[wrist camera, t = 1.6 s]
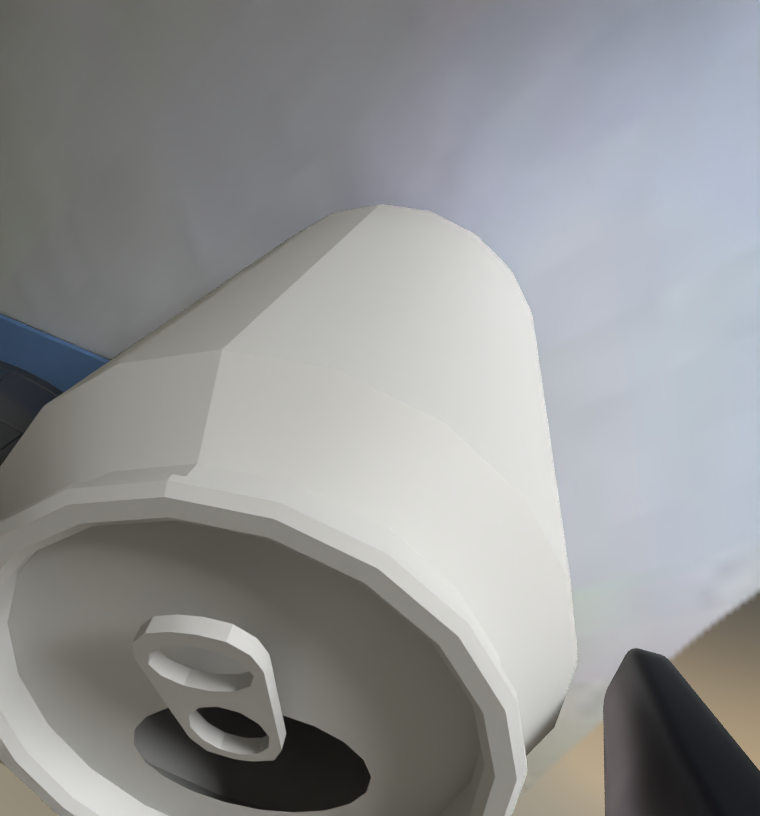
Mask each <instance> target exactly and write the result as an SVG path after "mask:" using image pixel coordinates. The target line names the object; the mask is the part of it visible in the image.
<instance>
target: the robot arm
mask: <svg viewBox="0 0 760 816" xmlns="http://www.w3.org/2000/svg"><path fill="white" fill-rule="evenodd" d="M603 720H604V775H605V776H604V780H605V816H760V771H759V770H758V769H757V767H756V766H755V765H754V763H753V762H752V761H751V760H750V759H749V757H748V756H747V755H746V754H745V752H744V751H743V750H742V749H741V747H740V746H739V745H738V744H737V743H736V742H735V740H734V739H733V738H732V736H731V735H730V734H729V733H728V732H727V730H726V729H725V728H724V727H723V725H722V724H721V723H720V722H719V720H718V719H717V718H716V717H715V716H714V714H713V713H712V712H711V711H710V709H709V708H708V707H707V706H706V705H705V704H704V702H703V701H702V700H701V698H700V697H699V696H698V695H697V694H696V692H695V691H694V690H693V689H692V688H691V686H690V685H689V684H688V682H687V681H686V680H685V679H684V678H683V677H682V675H681V674H680V673H679V671H678V670H677V669H676V668H675V667H674V665H673V664H672V663H671V662H670V661H669V660H668V659H667V658H666V657H665V656H662V655H660V654H656V653H653V652H649V651H645V650H642V649H638V648H635V649H631V650H630V651H628V653H627V654H626V655H625V657H624V659H623V661H622V663H621V665H620V666H619V668H618V670H617V672H616V674H615V676H614V677H613V679H612V681H611V683H610V685H609V687H608V689H607V691H606V694H605V698H604V706H603Z"/></svg>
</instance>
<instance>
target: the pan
mask: <svg viewBox="0 0 760 816" xmlns="http://www.w3.org/2000/svg"><path fill="white" fill-rule="evenodd" d="M62 393H64V392H62V391H61V390H59V389H58V388H56V387H55V386H53V385H52V384H50V383H49V382H47V381H45V380H43V379H41V378H39V377H37V376H35V375H34V374H32V373H30V372H28V371H26V370H23V369H21V368H18V367H16V366H14V365H11V364H9V363H6V362H4V361H0V466H1V465H2V463H3V462H4V461H5V459H6V458H7V456H8V455H9V454H10V452H11V451H12V449H13V448H14V447H15V445H16V444H17V442H18V441H19V440H20V438H21V437H22V436H23V434H24V433H25V431H26V430H27V429H28V427H29V426H30V424H31V423H32V422H33V420H34V419H35V417H36V416H37V415H38V413H39V412H40V410H41V409H42V408H43V406H45V405H46V404H47V403H49V402H50V401H52V400H53V399H55V398H56V397H58V396H59V395H61V394H62Z"/></svg>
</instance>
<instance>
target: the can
mask: <svg viewBox="0 0 760 816" xmlns="http://www.w3.org/2000/svg"><path fill="white" fill-rule="evenodd" d="M577 663H578V654H577V643H576V633H575V622H574V611H573V601H572V590H571V580H570V573H569V566H568V560H567V553H566V546H565V539H564V532H563V525H562V518H561V511H560V504H559V497H558V490H557V483H556V476H555V469H554V462H553V455H552V448H551V441H550V434H549V428H548V421H547V414H546V407H545V400H544V393H543V386H542V379H541V372H540V365H539V358H538V351H537V344H536V337H535V330H534V323H533V316H532V313H531V311H530V308H529V306H528V304H527V302H526V300H525V298H524V296H523V294H522V292H521V289H520V287H519V285H518V283H517V281H516V279H515V277H514V275H513V273H512V271H511V269H510V268H509V267H508V266H507V265H506V264H505V263H504V262H503V261H502V260H501V259H500V258H499V257H498V256H497V255H496V254H495V253H494V252H493V251H492V250H491V249H490V248H489V247H488V246H487V245H486V244H485V243H484V242H483V241H482V240H481V239H480V238H479V237H478V236H477V235H476V234H474V233H472V232H470V231H468V230H466V229H464V228H462V227H460V226H458V225H456V224H455V223H453V222H451V221H449V220H447V219H445V218H443V217H441V216H439V215H437V214H435V213H433V212H431V211H425V210H418V209H411V208H404V207H397V206H391V205H384V204H378V205H372V206H367V207H362V208H356V209H351V210H346V211H340V212H335V213H331V214H330V215H328V216H326V217H325V218H323V219H321V220H319V221H318V222H316V223H314V224H312V225H311V226H309V227H307V228H306V229H304V230H302V231H300V232H299V233H297V234H295V235H294V236H292V237H290V238H289V239H287V240H286V241H284V242H283V243H282V244H280V245H279V246H277V247H276V248H274V249H273V250H271V251H270V252H268V253H267V254H265V255H264V256H263V257H261V258H260V259H258V260H257V261H255V262H254V263H252V264H251V265H249V266H248V267H246V268H245V269H244V270H242V271H241V272H239V273H238V274H236V275H235V276H233V277H232V278H230V279H229V280H227V281H226V282H225V283H223V284H222V285H220V286H219V287H217V288H216V289H214V290H213V291H211V292H210V293H208V294H207V295H205V296H204V297H203V298H201V299H200V300H198V301H197V302H195V303H194V304H192V305H191V306H189V307H188V308H186V309H185V310H184V311H182V312H181V313H179V314H178V315H176V316H175V317H173V318H172V319H170V320H169V321H167V322H166V323H165V324H163V325H162V326H160V327H159V328H157V329H156V330H154V331H153V332H151V333H150V334H148V335H147V336H146V337H144V338H143V339H141V340H140V341H138V342H137V343H135V344H134V345H132V346H131V347H129V348H128V349H126V350H125V351H124V352H122V353H121V354H119V355H118V356H116V357H115V358H113V359H112V360H110V361H109V362H107V363H106V364H105V365H103V366H102V367H100V368H99V369H97V370H96V371H94V372H93V373H91V374H90V375H88V376H87V377H86V378H84V379H83V380H81V381H80V382H78V383H77V384H75V385H74V386H72V387H71V388H69V389H68V390H66V391H65V392H64V393H62V394H61V395H59V396H58V397H56V398H55V399H53V400H52V401H50V402H49V403H47V404H46V405H45V406H43V408H42V409H41V410H40V412H39V413H38V415H37V416H36V417H35V419H34V420H33V422H32V423H31V424H30V426H29V427H28V429H27V430H26V431H25V433H24V434H23V436H22V437H21V438H20V440H19V441H18V442H17V444H16V445H15V447H14V448H13V449H12V451H11V452H10V454H9V455H8V456H7V458H6V459H5V461H4V462H3V463H2V465H1V466H0V760H1V761H2V763H3V764H4V765H5V766H6V767H8V768H9V769H10V770H11V771H12V772H13V773H14V774H15V775H16V776H17V777H18V778H19V779H20V780H21V781H22V782H23V783H24V784H25V785H26V786H28V788H29V789H31V790H32V791H33V792H34V793H35V794H36V795H37V796H38V797H39V798H40V799H41V800H42V801H43V802H44V803H45V804H46V805H47V806H48V807H50V809H51V810H53V811H54V812H55V813H56V814H58V815H59V816H512V813H513V811H514V808H515V805H516V802H517V800H518V797H519V794H520V791H521V788H522V786H523V783H524V780H525V777H526V774H527V759H526V756H527V755H528V754H529V753H530V752H531V751H532V749H533V748H534V747H535V746H536V745H537V744H538V743H539V742H540V741H541V740H542V739H543V738H544V737H545V736H546V735H547V734H548V733H549V732H550V731H551V730H552V729H553V728H554V726H555V723H556V721H557V718H558V715H559V712H560V710H561V707H562V704H563V702H564V699H565V696H566V693H567V691H568V688H569V685H570V682H571V680H572V677H573V674H574V672H575V669H576V666H577Z"/></svg>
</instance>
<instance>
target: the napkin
mask: <svg viewBox="0 0 760 816" xmlns="http://www.w3.org/2000/svg"><path fill="white" fill-rule="evenodd" d="M0 361H4V362H6V363H9V364H11V365H14V366H16V367H18V368H21V369H23V370H26V371H28V372H30V373H32V374H34V375H35V376H37V377H39V378H41V379H43V380H45V381H47V382H49V383H50V384H52V385H53V386H55V387H56V388H58V389H59V390H61V391H62V392H65V391H66V390H68V389H69V388H71V387H72V386H74V385H75V384H77V383H78V382H80V381H81V380H83V379H84V378H86V377H87V376H88V375H90V374H91V373H93V372H94V371H96V370H97V369H99V368H100V367H102V366H103V365H105V364H106V363H107V362H109V361H110V360H108V359H106V358H103V357H101V356H99V355H96V354H94V353H91V352H89V351H87V350H84V349H82V348H80V347H77V346H75V345H73V344H70V343H68V342H65V341H63V340H61V339H58V338H56V337H54V336H51V335H49V334H47V333H44V332H42V331H40V330H37V329H35V328H32V327H30V326H28V325H25V324H23V323H21V322H18V321H16V320H14V319H11V318H9V317H6V316H4V315H2V314H0Z"/></svg>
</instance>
